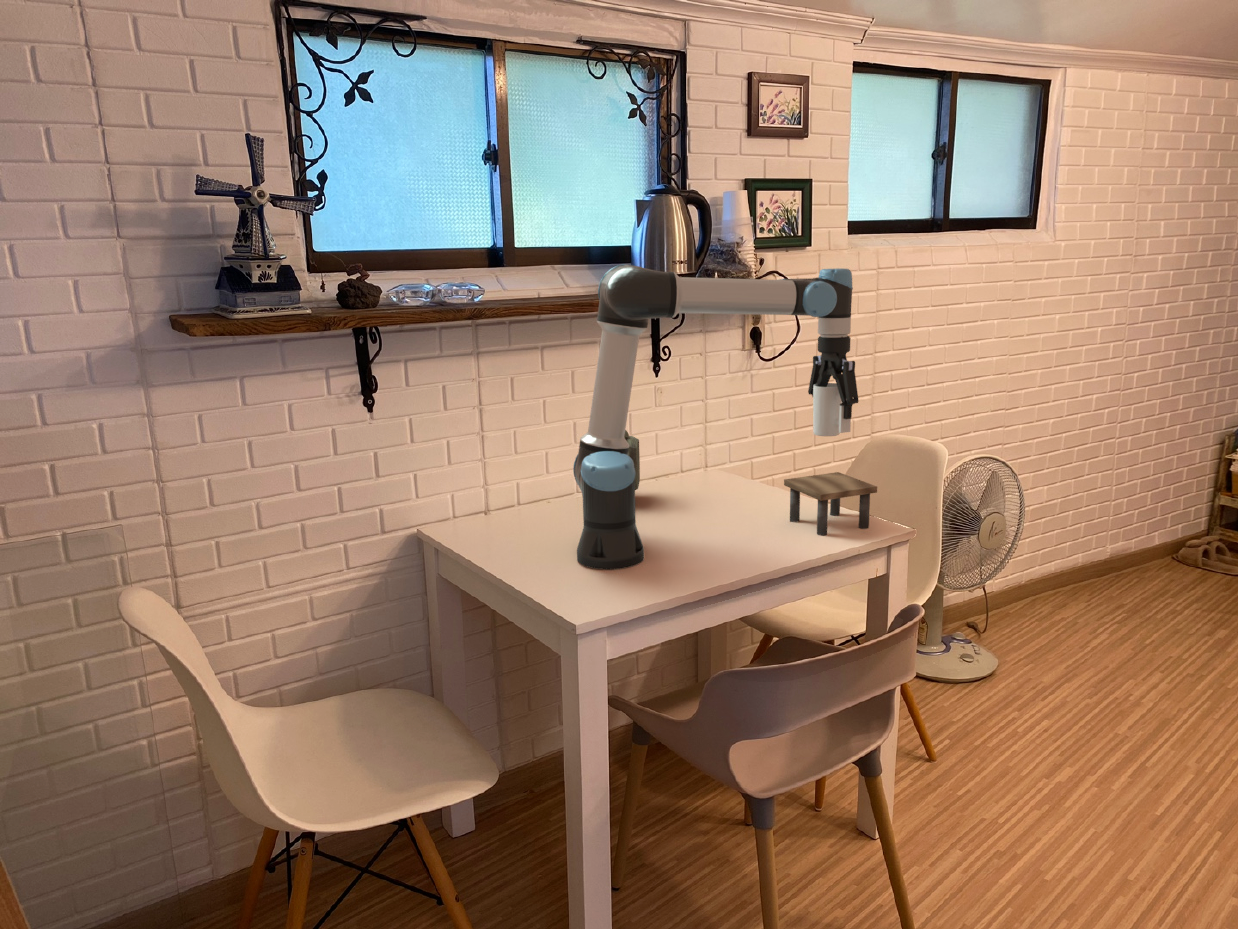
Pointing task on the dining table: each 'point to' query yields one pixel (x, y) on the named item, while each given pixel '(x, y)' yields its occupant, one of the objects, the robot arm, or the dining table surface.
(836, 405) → the mug
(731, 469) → the dining table surface
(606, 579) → the dining table surface
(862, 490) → the small wooden stand
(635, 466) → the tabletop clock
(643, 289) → the robot arm
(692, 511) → the dining table surface
